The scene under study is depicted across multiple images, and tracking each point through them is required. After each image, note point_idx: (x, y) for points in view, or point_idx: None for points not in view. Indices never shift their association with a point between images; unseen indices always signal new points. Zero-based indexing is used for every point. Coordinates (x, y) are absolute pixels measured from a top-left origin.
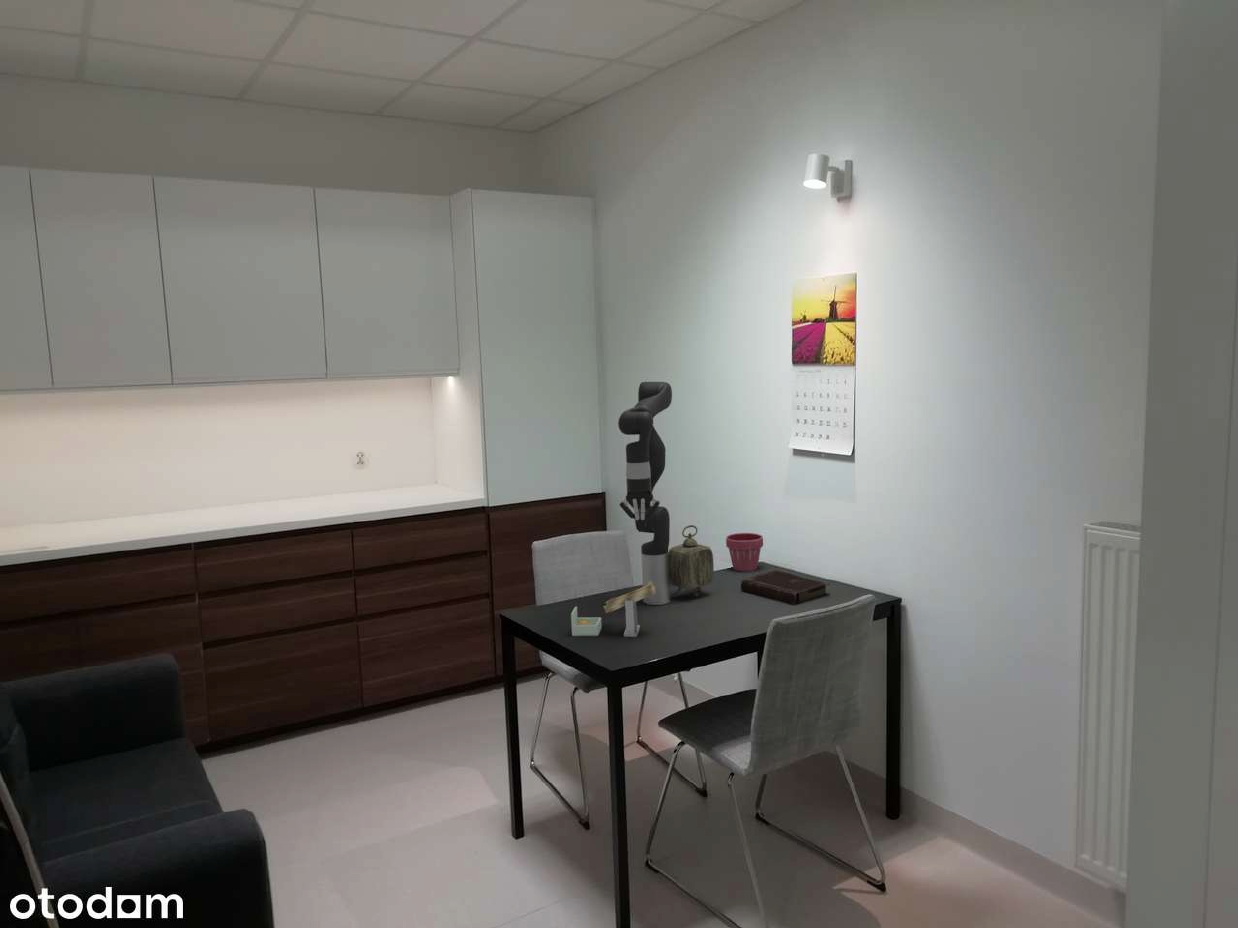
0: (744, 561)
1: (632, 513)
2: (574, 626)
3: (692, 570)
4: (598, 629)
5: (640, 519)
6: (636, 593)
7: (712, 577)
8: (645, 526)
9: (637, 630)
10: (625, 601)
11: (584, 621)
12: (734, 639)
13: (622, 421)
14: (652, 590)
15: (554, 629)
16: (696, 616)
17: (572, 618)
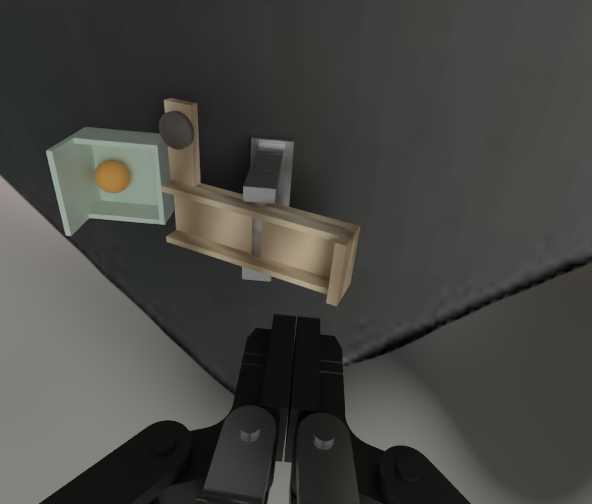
0: None
1: (164, 496)
2: (94, 216)
3: None
4: (169, 201)
5: (284, 428)
6: (281, 276)
7: None
8: (339, 365)
9: (288, 197)
10: (243, 277)
11: (112, 186)
12: (551, 270)
13: None
14: (344, 292)
15: (17, 132)
16: (515, 23)
17: (77, 228)
